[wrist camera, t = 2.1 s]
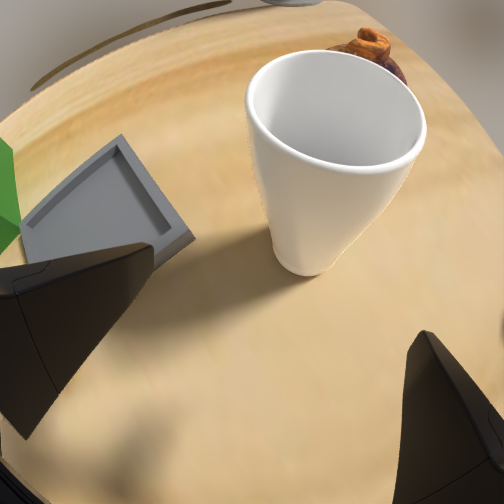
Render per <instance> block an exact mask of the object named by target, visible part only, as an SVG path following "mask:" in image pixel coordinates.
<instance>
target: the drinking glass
mask: <svg viewBox="0 0 504 504" xmlns="http://www.w3.org/2000/svg"><path fill="white" fill-rule="evenodd" d="M245 112H246V128H247V139H248V147H249V154H250V160H251V166H252V171H253V175H254V179H255V183H256V187H257V190H258V194H259V197H260V200H261V203H262V207H263V210H264V213H265V216H266V220H267V223H268V227H269V230H270V234H271V237H272V246H273V250H274V253H275V256H276V258H277V259H278V261H279V262H280V263H281V265H282V266H283V267H285V268H286V269H287V270H289V271H290V272H292V273H295V274H297V275H301V276H315V275H319V274H321V273H324V272H326V271H327V270H329V269H330V268H331V267H332V266H333V265H334V264H335V263H336V262H337V260H338V258H339V257H340V256H341V255H342V254H343V253H344V252H345V251H346V250H347V249H348V248H349V247H350V246H351V245H352V244H353V243H354V242H355V241H356V240H357V239H358V238H359V237H360V236H361V235H362V234H363V233H364V232H365V231H366V229H367V228H368V227H369V226H370V225H371V224H372V223H373V222H374V221H375V220H376V219H377V218H378V217H379V216H380V215H381V213H382V212H383V211H384V210H385V209H386V207H387V206H388V205H389V204H390V202H391V201H392V199H393V198H394V197H395V195H396V194H397V192H398V191H399V189H400V188H401V186H402V185H403V183H404V181H405V180H406V178H407V176H408V174H409V173H410V171H411V169H412V167H413V165H414V163H415V161H416V159H417V157H418V155H419V153H420V151H421V150H422V147H423V145H424V142H425V138H426V120H425V116H424V113H423V110H422V108H421V106H420V104H419V102H418V100H417V99H416V97H415V96H414V94H413V93H412V92H411V90H410V89H409V88H408V87H407V86H406V85H405V84H404V83H403V82H402V81H401V80H400V79H399V78H397V77H396V76H395V75H394V74H392V73H391V72H389V71H388V70H386V69H385V68H383V67H381V66H379V65H378V64H376V63H373V62H371V61H369V60H367V59H364V58H361V57H358V56H355V55H352V54H348V53H343V52H338V51H329V50H307V51H300V52H294V53H290V54H287V55H284V56H281V57H279V58H276V59H274V60H272V61H270V62H269V63H267V64H266V65H264V66H263V67H262V68H261V69H259V70H258V71H257V72H256V74H255V75H254V76H253V77H252V79H251V80H250V82H249V84H248V86H247V89H246V93H245Z"/></svg>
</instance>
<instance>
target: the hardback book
mask: <svg viewBox="0 0 504 504" xmlns="http://www.w3.org/2000/svg"><path fill="white" fill-rule="evenodd" d="M20 222H21V216H20V210H19V204H18V198H17V191H16V183H15V174H14V163H13V150H12V148H11V147H10V146H9V145H8V144H6V143H5V142H4V141H3V140H2V139H1V138H0V254H1V253H2V252H3V251H4V250H5V249H6V248H7V247H8V245H9V244H10V243H11V242H12V241H13V240H14V239H15V238H16V237H17V236H18V235H19V234H20V233H21V232H20V227H19V223H20Z"/></svg>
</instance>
